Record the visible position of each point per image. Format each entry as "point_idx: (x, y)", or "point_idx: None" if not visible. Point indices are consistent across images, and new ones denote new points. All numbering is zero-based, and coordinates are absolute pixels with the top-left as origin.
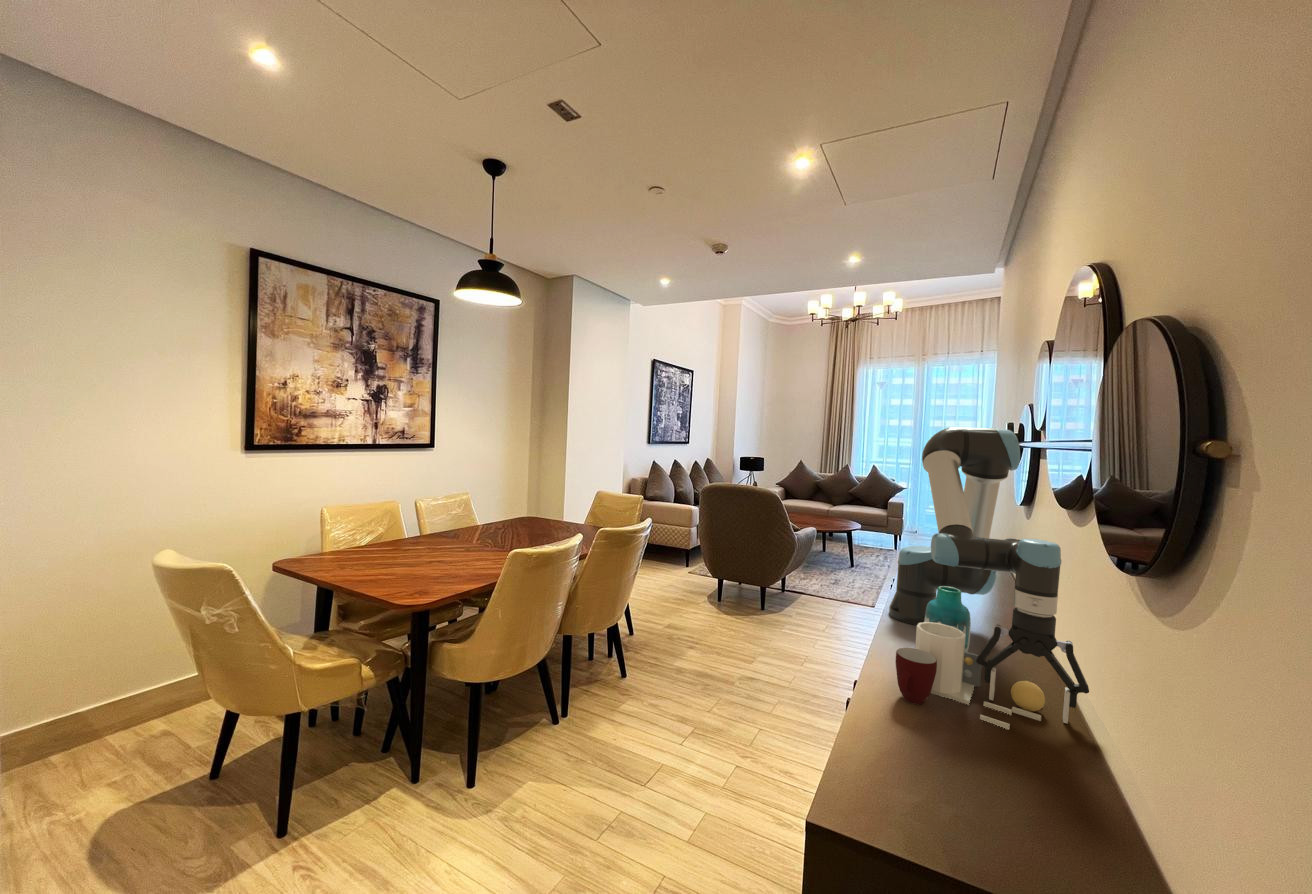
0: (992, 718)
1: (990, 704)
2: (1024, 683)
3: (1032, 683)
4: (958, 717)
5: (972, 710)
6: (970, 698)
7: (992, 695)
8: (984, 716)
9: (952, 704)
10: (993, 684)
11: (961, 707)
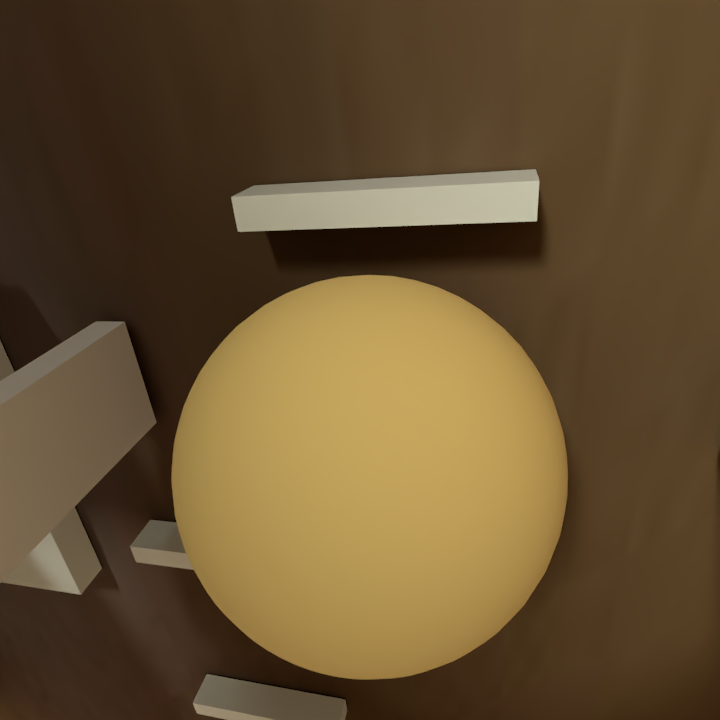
0: (250, 714)
1: (177, 567)
2: (271, 652)
3: (368, 618)
4: (137, 696)
5: (141, 608)
6: (62, 541)
7: (123, 450)
8: (214, 712)
9: (50, 599)
10: (44, 533)
11: (92, 606)
